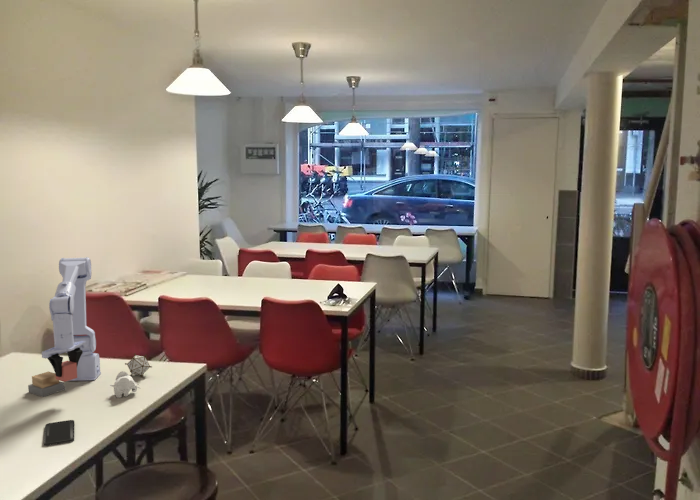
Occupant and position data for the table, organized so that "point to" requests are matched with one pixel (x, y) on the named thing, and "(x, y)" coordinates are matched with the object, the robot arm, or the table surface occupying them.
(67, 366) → the red block
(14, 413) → the table surface
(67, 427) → the phone
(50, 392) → the charcoal base tile
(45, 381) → the oak tile
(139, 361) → the grey geodesic polyhedron
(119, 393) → the elephant figurine
